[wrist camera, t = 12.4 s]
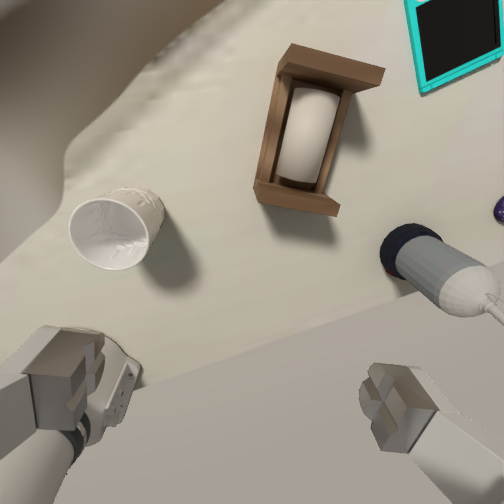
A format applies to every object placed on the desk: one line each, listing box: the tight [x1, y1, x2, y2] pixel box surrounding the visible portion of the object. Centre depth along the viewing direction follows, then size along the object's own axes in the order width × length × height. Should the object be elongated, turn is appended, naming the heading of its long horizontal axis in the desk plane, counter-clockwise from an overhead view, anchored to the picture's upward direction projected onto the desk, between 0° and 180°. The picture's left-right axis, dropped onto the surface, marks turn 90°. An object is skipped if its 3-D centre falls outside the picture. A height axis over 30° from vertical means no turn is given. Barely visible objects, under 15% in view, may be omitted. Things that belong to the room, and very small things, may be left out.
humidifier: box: [380, 223, 504, 325], centre depth 31 cm, size 8×8×25 cm
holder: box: [253, 43, 386, 217], centre depth 32 cm, size 14×9×8 cm, turn 168°
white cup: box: [68, 186, 164, 271], centre depth 33 cm, size 8×8×10 cm
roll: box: [276, 88, 340, 183], centre depth 32 cm, size 10×5×5 cm, turn 169°
